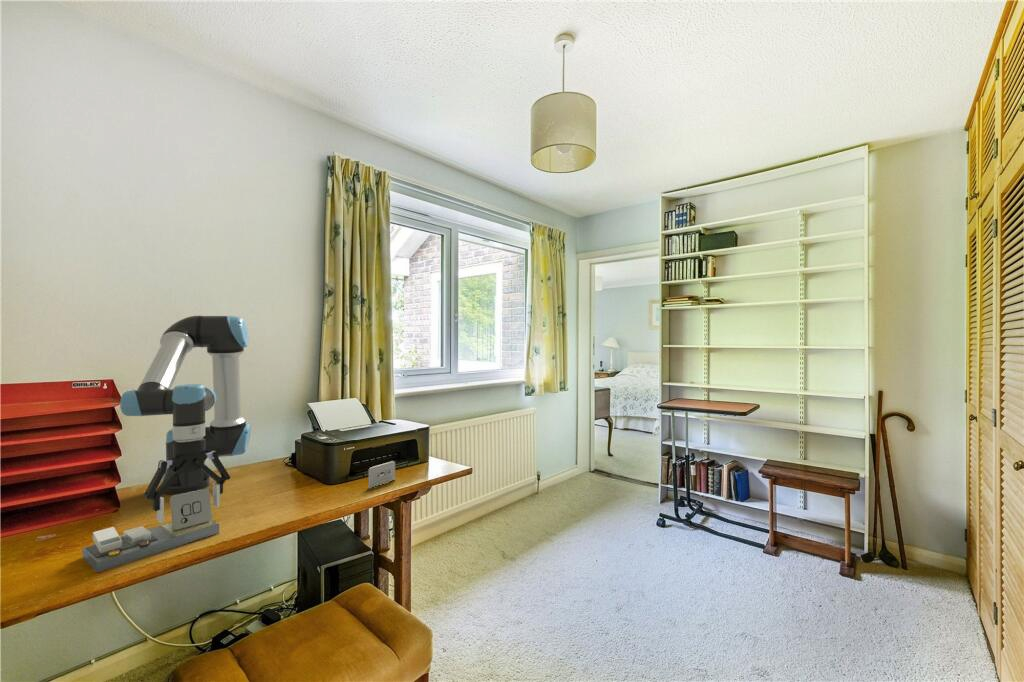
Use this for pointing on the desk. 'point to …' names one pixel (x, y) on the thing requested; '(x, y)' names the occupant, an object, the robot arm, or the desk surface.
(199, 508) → the electrical switch
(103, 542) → the block
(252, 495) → the desk surface
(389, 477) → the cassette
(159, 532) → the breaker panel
